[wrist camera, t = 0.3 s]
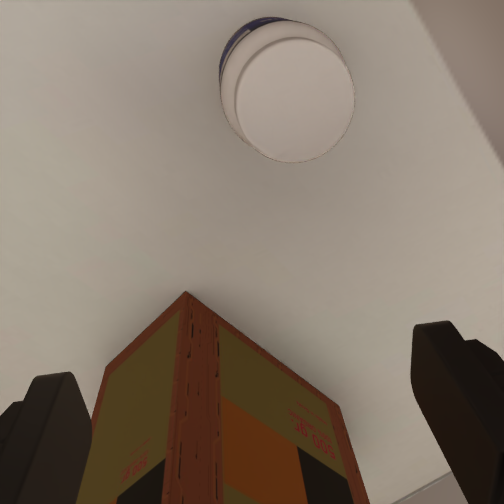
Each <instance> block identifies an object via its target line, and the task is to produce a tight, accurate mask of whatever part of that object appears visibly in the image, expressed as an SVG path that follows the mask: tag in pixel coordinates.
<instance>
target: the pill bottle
mask: <svg viewBox="0 0 504 504" xmlns="http://www.w3.org/2000/svg"><path fill="white" fill-rule="evenodd" d="M219 84H220V95H221V102H222V106H223V110H224V113H225V116H226V118H227V120H228V122H229V124H230V126H231V127H232V129H233V130H234V131H235V133H236V134H237V135H238V136H239V137H240V138H241V139H242V140H243V141H244V142H246V143H247V144H248V145H250V146H251V147H253V148H255V149H256V150H257V151H258V152H260V153H261V154H262V155H264V156H266V157H268V158H270V159H273V160H275V161H279V162H285V163H300V162H306V161H309V160H312V159H315V158H317V157H319V156H321V155H323V154H325V153H326V152H328V151H329V150H330V149H331V148H332V147H334V146H335V145H336V144H337V143H338V141H339V140H340V139H341V138H342V136H343V135H344V134H345V132H346V130H347V128H348V126H349V124H350V122H351V119H352V116H353V111H354V106H355V91H354V85H353V81H352V78H351V75H350V73H349V70H348V69H347V67H346V63H345V61H344V59H343V56H342V54H341V53H340V51H339V49H338V48H337V46H336V45H335V44H334V43H333V41H332V40H331V39H330V38H329V37H327V36H326V35H325V34H324V33H323V32H321V31H319V30H318V29H316V28H314V27H312V26H310V25H307V24H304V23H301V22H297V21H292V20H288V19H283V18H278V17H264V18H259V19H256V20H253V21H251V22H249V23H247V24H245V25H244V26H242V27H241V28H240V29H239V30H238V31H236V32H235V33H234V35H233V36H232V37H231V38H230V40H229V41H228V43H227V44H226V46H225V48H224V51H223V53H222V56H221V60H220V65H219Z"/></svg>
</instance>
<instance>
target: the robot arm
mask: <svg viewBox="0 0 504 504" xmlns="http://www.w3.org/2000/svg"><path fill="white" fill-rule="evenodd" d="M411 384H412V389H413V393H414V396H415V399H416V401H417V403H418V405H419V407H420V409H421V411H422V413H423V415H424V417H425V419H426V421H427V423H428V425H429V427H430V429H431V431H432V433H433V435H434V437H435V439H436V441H437V442H438V444H439V446H440V448H441V450H442V452H443V454H444V456H445V458H446V460H447V462H448V464H449V466H450V468H451V470H452V472H453V474H454V476H455V478H456V480H457V482H458V484H459V486H460V487H461V490H462V492H463V494H464V496H465V498H466V500H467V502H468V504H504V361H503V360H502V359H501V357H500V356H499V355H498V354H497V353H496V352H495V351H493V350H492V349H490V348H489V347H487V346H486V345H484V344H483V343H481V342H480V341H478V340H477V339H474V340H466V341H465V340H464V339H463V338H462V336H461V335H460V333H459V332H458V331H457V329H456V328H455V327H454V325H453V324H452V323H451V322H450V321H439V322H432V323H425V324H418V325H415V326H414V329H413V339H412V356H411ZM91 443H92V423H91V419H90V416H89V413H88V410H87V408H86V405H85V402H84V400H83V397H82V395H81V392H80V389H79V387H78V384H77V381H76V379H75V377H74V375H73V374H72V373H71V372H62V373H55V374H47V375H40V376H36V377H35V378H34V379H33V381H32V383H31V385H30V387H29V389H28V391H27V394H26V396H25V398H24V400H23V401H18V402H13V403H12V404H11V405H10V406H9V407H8V408H7V409H6V410H5V412H4V413H3V414H2V415H1V416H0V504H76V501H77V497H78V493H79V490H80V486H81V482H82V478H83V474H84V471H85V467H86V463H87V459H88V456H89V452H90V448H91Z"/></svg>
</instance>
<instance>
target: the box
mask: <svg viewBox="0 0 504 504" xmlns="http://www.w3.org/2000/svg"><path fill="white" fill-rule="evenodd" d="M91 423H92V443H91V448H90V452H89V456H88V459H87V463H86V467H85V471H84V474H83V478H82V482H81V486H80V490H79V493H78V497H77V501H76V504H370V502H369V499H368V496H367V493H366V490H365V486H364V483H363V480H362V477H361V474H360V471H359V467H358V464H357V461H356V458H355V455H354V452H353V448H352V445H351V442H350V439H349V436H348V433H347V429H346V426H345V423H344V420H343V417H342V414H341V410H340V407H339V406H338V405H337V404H336V403H334V402H333V401H332V400H330V399H329V398H328V397H326V396H325V395H324V394H322V393H321V392H320V391H318V390H317V389H316V388H314V387H313V386H312V385H310V384H309V383H308V382H306V381H305V380H304V379H302V378H301V377H300V376H298V375H297V374H296V373H294V372H293V371H292V370H290V369H289V368H288V367H286V366H285V365H284V364H282V363H281V362H280V361H278V360H277V359H276V358H274V357H273V356H272V355H270V354H269V353H268V352H266V351H265V350H264V349H262V348H261V347H260V346H258V345H257V344H256V343H254V342H253V341H252V340H250V339H249V338H248V337H246V336H245V335H244V334H242V333H241V332H240V331H238V330H237V329H236V328H234V327H233V326H232V325H230V324H229V323H228V322H226V321H225V320H224V319H222V318H221V317H220V316H218V315H217V314H216V313H214V312H213V311H212V310H210V309H209V308H208V307H206V306H205V305H204V304H202V303H201V302H200V301H198V300H197V299H196V298H194V297H193V296H192V295H190V294H189V293H188V292H186V291H185V292H184V293H183V294H182V295H181V296H180V297H179V298H178V299H177V300H176V301H175V302H174V303H173V304H172V305H171V306H170V307H169V308H167V309H166V310H165V311H164V312H163V313H162V314H161V315H160V316H159V317H158V318H157V319H156V320H155V321H154V322H153V323H152V324H151V325H150V326H148V327H147V328H146V329H145V330H144V331H143V332H142V333H141V334H140V335H139V336H138V337H137V338H136V339H135V340H134V341H133V342H132V343H130V344H129V345H128V346H127V347H126V348H125V349H124V350H123V351H122V352H121V353H120V354H119V355H118V356H117V357H116V358H115V359H114V360H113V361H111V362H110V363H109V364H108V365H107V366H106V368H105V372H104V375H103V379H102V383H101V386H100V390H99V393H98V397H97V400H96V404H95V407H94V411H93V414H92V418H91Z"/></svg>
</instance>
